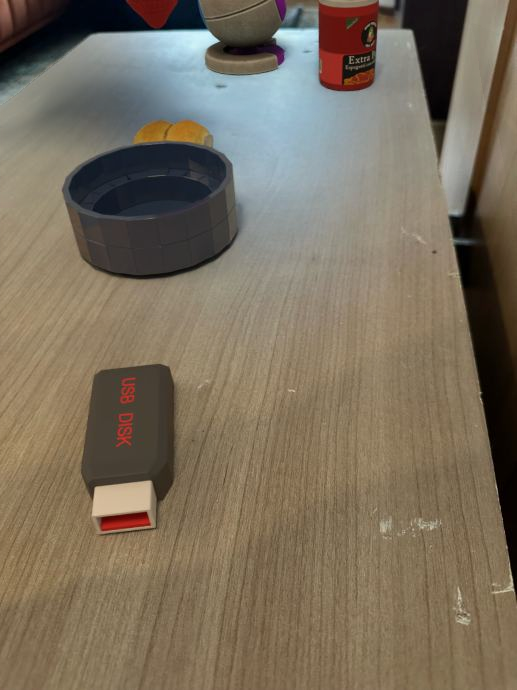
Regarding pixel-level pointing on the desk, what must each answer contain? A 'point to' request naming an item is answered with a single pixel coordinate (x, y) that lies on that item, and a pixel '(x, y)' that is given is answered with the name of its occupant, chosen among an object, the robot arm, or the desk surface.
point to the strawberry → (153, 10)
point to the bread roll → (174, 132)
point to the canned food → (347, 43)
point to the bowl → (152, 206)
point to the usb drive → (129, 446)
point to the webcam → (243, 34)
